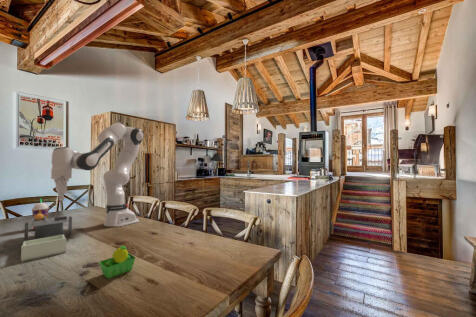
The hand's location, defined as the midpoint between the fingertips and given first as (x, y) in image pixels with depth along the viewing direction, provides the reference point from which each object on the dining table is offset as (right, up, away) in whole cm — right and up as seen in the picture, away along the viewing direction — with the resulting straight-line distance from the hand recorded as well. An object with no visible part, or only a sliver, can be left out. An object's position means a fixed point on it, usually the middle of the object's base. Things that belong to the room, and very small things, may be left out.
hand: (61, 200), depth 120 cm
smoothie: (-32, -24, +22) cm, 46 cm away
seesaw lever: (-10, -13, +4) cm, 17 cm away
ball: (-21, -12, +10) cm, 27 cm away
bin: (+4, -23, -14) cm, 27 cm away
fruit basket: (+51, -23, -33) cm, 65 cm away
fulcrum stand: (-10, -23, +4) cm, 26 cm away
